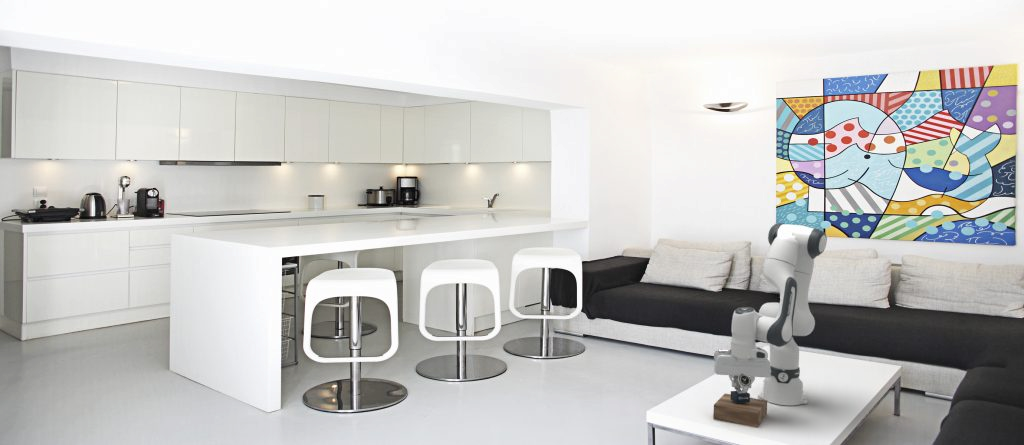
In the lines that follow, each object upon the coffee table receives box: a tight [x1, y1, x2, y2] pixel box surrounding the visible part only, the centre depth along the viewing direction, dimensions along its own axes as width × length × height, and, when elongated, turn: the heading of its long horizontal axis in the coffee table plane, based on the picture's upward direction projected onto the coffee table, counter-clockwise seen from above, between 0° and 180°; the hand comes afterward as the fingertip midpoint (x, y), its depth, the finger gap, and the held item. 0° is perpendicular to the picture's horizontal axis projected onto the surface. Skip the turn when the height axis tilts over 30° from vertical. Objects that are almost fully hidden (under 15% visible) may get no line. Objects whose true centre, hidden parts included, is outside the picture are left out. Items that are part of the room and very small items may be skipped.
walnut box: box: [712, 393, 768, 429], centre depth 273 cm, size 16×16×6 cm
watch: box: [730, 374, 752, 403], centre depth 272 cm, size 6×8×11 cm
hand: (741, 387), depth 272 cm, fingers closed on watch, 4 cm apart
